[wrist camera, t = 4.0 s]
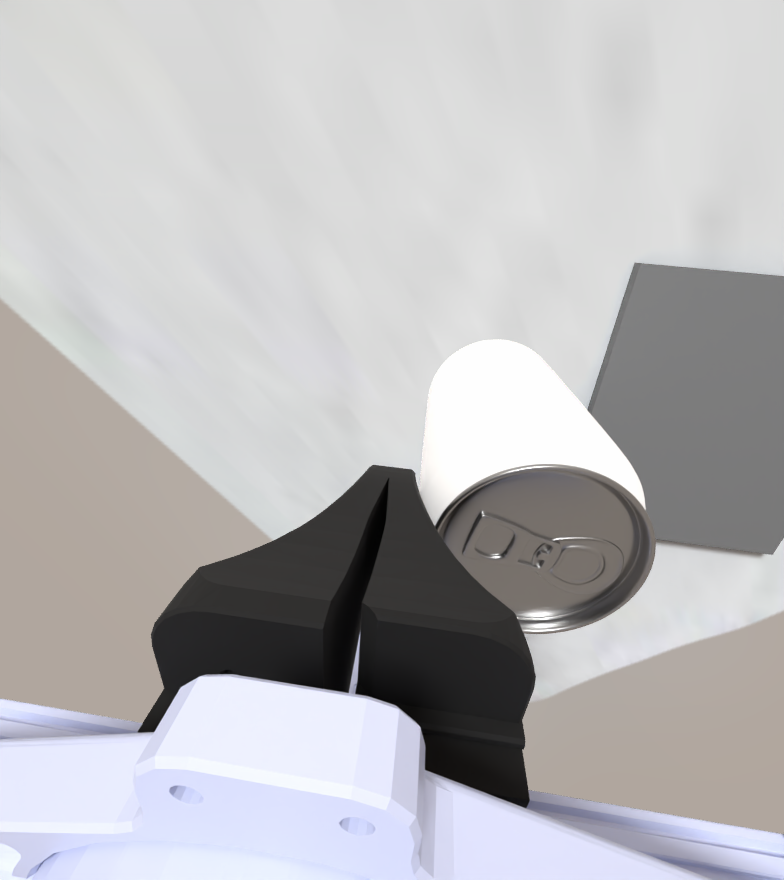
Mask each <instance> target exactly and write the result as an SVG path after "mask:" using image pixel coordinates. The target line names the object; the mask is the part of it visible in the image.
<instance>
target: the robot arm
mask: <svg viewBox="0 0 784 880" xmlns="http://www.w3.org/2000/svg"><path fill="white" fill-rule="evenodd" d="M151 638H152V647H153V651H154V654H155V658H156V661H157V664H158V668H159V671H160V674H161V678H162V681H163V685H164V690H163V692H162V693H161V695H160V696H159V698H158V700H157V701H156V703H155V705H154V706H153V708H152V709H151V711H150V712H149V714H148V716H147V717H146V719H145V720H144V722H143V723H139V722H134V721H128V720H122V719H116V718H110V717H104V716H99V715H93V714H87V713H82V712H76V711H70V710H64V709H58V708H53V707H47V706H41V705H36V704H30V703H24V702H18V701H12V700H6V699H0V880H784V834H780V833H774V832H767V831H762V830H757V829H751V828H745V827H739V826H733V825H728V824H722V823H716V822H710V821H704V820H699V819H692V818H687V817H681V816H676V815H670V814H663V813H659V812H652V811H647V810H641V809H635V808H629V807H624V806H618V805H612V804H607V803H601V802H595V801H589V800H584V799H578V798H572V797H566V796H560V795H554V794H549V793H543V792H537V791H532V790H528V785H527V778H526V772H525V766H524V759H523V753H522V749H524V747H525V736H524V729H523V724H522V719H523V716H524V714H525V711H526V708H527V706H528V703H529V701H530V698H531V695H532V693H533V690H534V685H535V678H536V676H535V672H534V665H533V661H532V657H531V653H530V650H529V647H528V644H527V641H526V639H525V636H524V633H523V631H522V628H521V626H520V623H519V621H518V618H517V616H516V614H515V613H514V612H513V611H512V610H511V609H510V608H508V607H507V606H506V605H505V604H503V603H502V602H501V601H500V600H498V599H497V598H496V597H495V596H493V595H492V594H491V593H490V592H488V591H487V590H486V589H485V588H484V587H483V586H482V585H481V584H480V583H479V582H478V581H477V580H476V579H475V578H474V577H472V575H471V574H470V573H469V572H468V571H467V570H466V569H465V568H464V567H463V565H462V564H461V563H460V562H459V561H458V560H457V558H456V557H455V556H454V554H453V553H452V552H451V551H450V549H449V548H448V546H447V545H446V543H445V542H444V541H443V539H442V538H441V536H440V534H439V533H438V531H437V529H436V528H435V526H434V524H433V522H432V520H431V518H430V516H429V514H428V512H427V510H426V508H425V505H424V503H423V501H422V498H421V496H420V493H419V490H418V487H417V483H416V478H415V473H414V471H413V470H411V469H403V468H394V467H386V466H378V465H372V466H371V467H369V469H368V470H367V471H366V472H365V473H364V474H363V475H362V476H361V477H360V479H359V480H358V481H357V482H356V483H355V484H354V485H353V486H352V487H351V488H349V489H348V490H347V491H346V492H345V493H344V494H343V495H342V496H341V497H340V498H339V499H337V500H336V501H335V502H334V503H333V504H331V505H330V506H329V507H328V508H326V509H325V510H324V511H323V512H321V513H320V514H319V515H317V516H316V517H314V518H313V519H311V520H310V521H308V522H307V523H305V524H304V525H302V526H300V527H299V528H297V529H295V530H293V531H291V532H289V533H287V534H285V535H284V536H282V537H280V538H278V539H276V540H274V541H272V542H270V543H267V544H265V545H263V546H260V547H258V548H255V549H253V550H251V551H248V552H245V553H243V554H240V555H237V556H234V557H231V558H228V559H225V560H222V561H218V562H215V563H212V564H209V565H206V566H202V567H199V568H198V570H197V571H196V572H195V573H194V574H193V575H192V576H191V577H190V578H189V580H188V581H187V582H186V583H185V584H184V585H183V587H182V588H181V589H180V591H179V592H178V593H177V594H176V596H175V597H174V598H173V600H172V601H171V602H170V604H169V605H168V606H167V608H166V609H165V610H164V612H163V613H162V614H161V616H160V617H159V618H158V620H157V621H156V622H155V624H154V627H153V631H152V633H151Z"/></svg>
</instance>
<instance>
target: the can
mask: <svg viewBox="0 0 784 880" xmlns="http://www.w3.org/2000/svg"><path fill="white" fill-rule="evenodd" d="M419 493H420V496H421V498H422V501H423V503H424V505H425V508H426V510H427V512H428V514H429V516H430V518H431V520H432V522H433V524H434V526H435V528H436V529H437V531H438V533H439V534H440V536H441V538H442V539H443V541H444V542H445V543H446V545H447V546H448V548H449V549H450V551H451V552H452V553H453V554H454V556H455V557H456V558H457V560H458V561H459V562H460V563H461V564H462V565H463V567H464V568H465V569H466V570H467V571H468V572H469V573H470V574H471V575H472V577H474V578H475V579H476V580H477V581H478V582H479V583H480V584H481V585H482V586H483V587H484V588H485V589H486V590H487V591H488V592H490V593H491V594H492V595H493V596H495V597H496V598H497V599H498V600H500V601H501V602H502V603H503V604H505V605H506V606H507V607H508V608H510V609H511V610H512V611H513V612H514V613H515V614H516V616H517V618H518V621H519V623H520V626H521V628H522V631H523V633H525V634H548V633H557V632H564V631H569V630H573V629H577V628H580V627H583V626H586V625H589V624H592V623H594V622H596V621H599V620H601V619H603V618H605V617H607V616H608V615H610V614H612V613H613V612H615V611H616V610H618V609H619V608H620V607H622V606H623V605H624V604H626V603H627V602H628V601H629V600H630V599H631V598H632V597H633V596H634V595H635V594H636V593H637V591H638V590H639V589H640V588H641V586H642V585H643V583H644V582H645V580H646V579H647V577H648V575H649V573H650V570H651V568H652V565H653V561H654V557H655V547H656V542H655V534H654V529H653V526H652V523H651V520H650V518H649V516H648V514H647V512H646V507H645V498H644V492H643V489H642V485H641V483H640V480H639V478H638V476H637V474H636V472H635V470H634V469H633V467H632V465H631V464H630V462H629V461H628V459H627V458H626V457H625V455H624V454H623V453H622V451H621V450H620V449H619V447H618V446H617V445H616V444H615V443H614V441H613V440H612V439H611V438H610V437H609V435H608V434H607V433H606V432H605V431H604V429H603V428H602V427H601V426H600V425H599V423H598V422H597V421H596V420H595V419H594V418H593V416H592V415H591V414H590V413H589V412H588V410H587V409H586V408H585V407H584V406H583V405H582V403H581V402H580V401H579V400H578V399H577V398H576V396H575V395H574V394H573V393H572V392H571V391H570V389H569V388H568V387H567V386H566V385H565V384H564V382H563V381H562V380H561V379H560V378H559V377H558V376H557V374H556V373H555V372H554V371H553V370H552V369H551V367H550V366H549V365H548V364H547V363H546V362H545V361H544V360H543V359H542V358H541V357H540V356H539V355H538V354H537V353H535V352H534V351H533V350H531V349H529V348H528V347H526V346H524V345H522V344H519V343H516V342H513V341H508V340H499V339H494V340H484V341H479V342H476V343H473V344H470V345H468V346H466V347H463V348H462V349H460V350H458V351H457V352H455V353H454V354H453V355H451V356H450V357H449V358H448V359H447V360H446V361H445V362H444V363H443V364H442V366H441V367H440V368H439V370H438V371H437V373H436V375H435V377H434V379H433V381H432V384H431V387H430V390H429V396H428V403H427V412H426V422H425V432H424V442H423V453H422V463H421V474H420V486H419Z"/></svg>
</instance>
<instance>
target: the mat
mask: <svg viewBox="0 0 784 880" xmlns="http://www.w3.org/2000/svg"><path fill="white" fill-rule="evenodd" d="M588 412H589V413H590V414H591V415H592V416H593V418H594V419H595V420H596V421H597V422H598V423H599V425H600V426H601V427H602V428H603V429H604V431H605V432H606V433H607V434H608V435H609V437H610V438H611V439H612V440H613V441H614V443H615V444H616V445H617V446H618V447H619V449H620V450H621V451H622V453H623V454H624V455H625V457H626V458H627V459H628V461H629V462H630V464H631V465H632V467H633V469H634V470H635V472H636V474H637V476H638V478H639V480H640V483H641V485H642V489H643V492H644V498H645V507H646V512H647V514H648V516H649V518H650V520H651V523H652V526H653V529H654V534H655V539H658V540H666V541H673V542H681V543H688V544H696V545H703V546H711V547H718V548H726V549H733V550H741V551H748V552H756V553H763V554H771V555H773V553H774V552H775V550H776V549H777V547H778V546H779V544H780V542H781V541H782V539H783V538H784V276H774V275H763V274H752V273H741V272H730V271H719V270H708V269H697V268H686V267H675V266H664V265H653V264H642V263H635V264H634V267H633V270H632V273H631V276H630V280H629V283H628V286H627V289H626V292H625V295H624V298H623V301H622V304H621V308H620V311H619V314H618V317H617V320H616V323H615V326H614V329H613V332H612V336H611V339H610V342H609V345H608V348H607V351H606V354H605V357H604V360H603V364H602V367H601V370H600V373H599V376H598V379H597V382H596V385H595V388H594V392H593V395H592V398H591V401H590V404H589V407H588Z"/></svg>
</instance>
